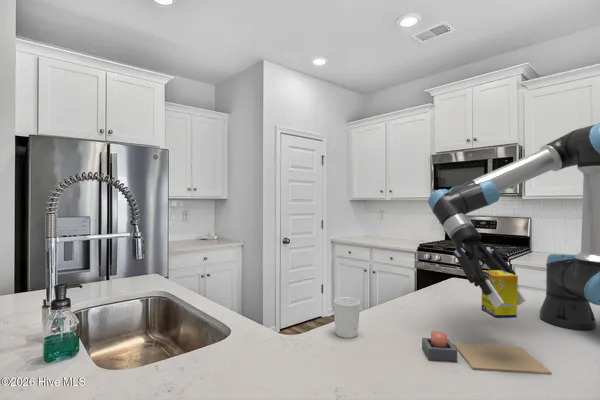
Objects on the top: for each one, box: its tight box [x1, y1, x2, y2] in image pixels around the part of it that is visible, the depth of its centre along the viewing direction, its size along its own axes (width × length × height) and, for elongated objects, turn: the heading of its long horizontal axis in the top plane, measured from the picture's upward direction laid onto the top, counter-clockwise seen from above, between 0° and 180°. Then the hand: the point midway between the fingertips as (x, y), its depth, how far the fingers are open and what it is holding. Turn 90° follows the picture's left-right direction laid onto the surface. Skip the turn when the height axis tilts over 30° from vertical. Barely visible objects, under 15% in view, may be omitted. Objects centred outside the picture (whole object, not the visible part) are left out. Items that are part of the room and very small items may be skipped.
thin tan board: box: [452, 342, 552, 375], centre depth 90 cm, size 18×14×1 cm
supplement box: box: [481, 269, 519, 319], centre depth 90 cm, size 6×6×11 cm
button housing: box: [421, 337, 458, 363], centre depth 91 cm, size 7×7×3 cm
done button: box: [430, 330, 448, 348], centre depth 91 cm, size 4×4×4 cm
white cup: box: [333, 296, 361, 339], centre depth 105 cm, size 8×8×10 cm
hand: (510, 304), depth 87 cm, fingers closed on supplement box, 7 cm apart
